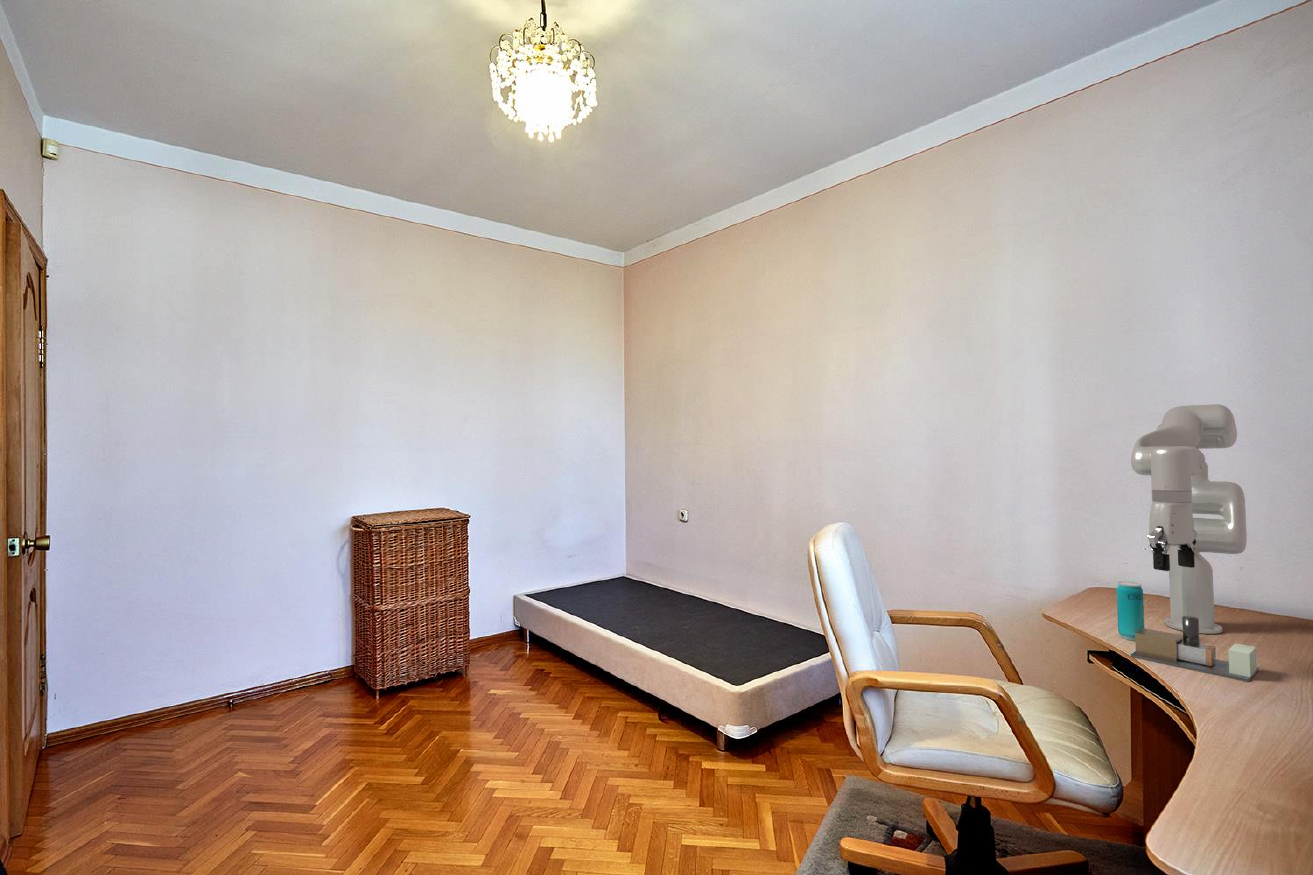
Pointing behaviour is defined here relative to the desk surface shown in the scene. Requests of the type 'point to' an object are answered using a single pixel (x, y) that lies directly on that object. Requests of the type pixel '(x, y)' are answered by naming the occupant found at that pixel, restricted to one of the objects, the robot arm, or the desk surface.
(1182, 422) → the robot arm
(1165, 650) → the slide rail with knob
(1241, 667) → the socket
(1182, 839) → the desk surface
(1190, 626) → the grey slider block
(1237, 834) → the desk surface
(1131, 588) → the beverage can
